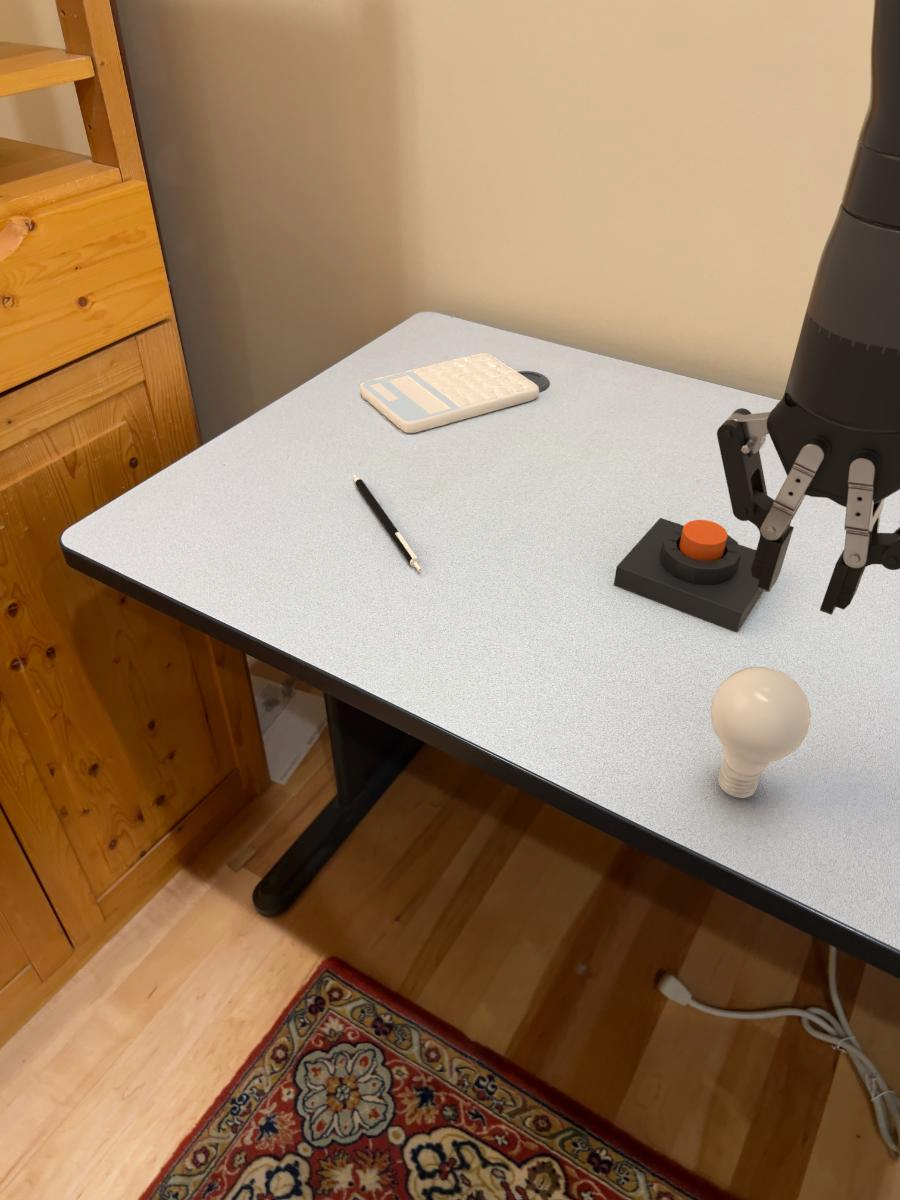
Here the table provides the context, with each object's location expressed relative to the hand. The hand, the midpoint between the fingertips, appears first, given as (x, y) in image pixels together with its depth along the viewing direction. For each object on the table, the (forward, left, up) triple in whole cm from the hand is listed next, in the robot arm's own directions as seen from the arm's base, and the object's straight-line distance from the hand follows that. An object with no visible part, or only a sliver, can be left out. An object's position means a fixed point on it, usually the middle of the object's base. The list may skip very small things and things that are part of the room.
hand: (798, 593), depth 53 cm
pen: (+42, -13, -18) cm, 48 cm away
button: (+12, -22, -15) cm, 29 cm away
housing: (+12, -22, -18) cm, 31 cm away
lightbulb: (0, 0, -18) cm, 18 cm away
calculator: (+53, -41, -18) cm, 69 cm away
